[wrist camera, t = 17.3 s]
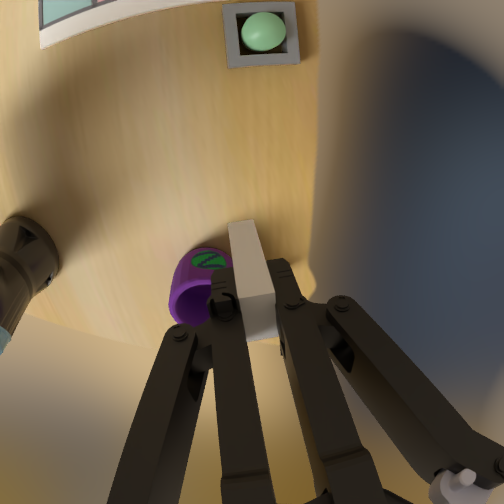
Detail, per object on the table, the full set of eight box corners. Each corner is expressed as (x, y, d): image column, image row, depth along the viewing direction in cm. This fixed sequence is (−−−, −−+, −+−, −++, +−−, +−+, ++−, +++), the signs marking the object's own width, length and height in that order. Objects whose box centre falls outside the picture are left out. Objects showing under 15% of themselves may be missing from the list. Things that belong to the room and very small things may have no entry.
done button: (241, 53, 33) (245, 50, 29) (238, 20, 31) (241, 13, 27) (279, 51, 34) (287, 48, 30) (276, 18, 31) (284, 11, 27)
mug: (174, 293, 54) (169, 333, 46) (174, 239, 48) (166, 276, 40) (267, 297, 57) (276, 336, 49) (278, 245, 51) (291, 282, 43)
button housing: (227, 68, 35) (229, 68, 32) (221, 10, 30) (222, 4, 27) (293, 64, 36) (300, 63, 33) (288, 7, 31) (294, 1, 28)
